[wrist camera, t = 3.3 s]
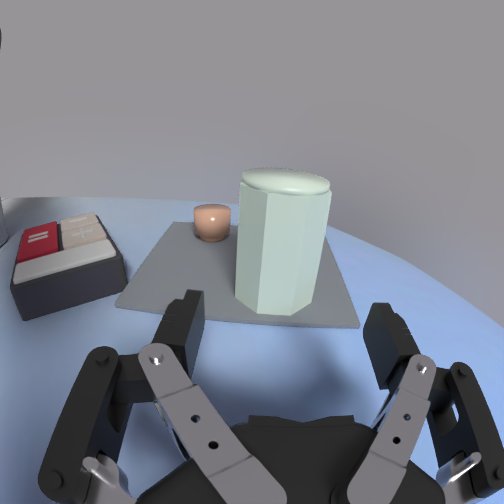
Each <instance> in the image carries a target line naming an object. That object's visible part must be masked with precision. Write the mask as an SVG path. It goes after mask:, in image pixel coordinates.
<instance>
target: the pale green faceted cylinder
mask: <svg viewBox="0 0 504 504" xmlns="http://www.w3.org/2000/svg"><path fill="white" fill-rule="evenodd" d="M329 187H330V182H329V181H328V180H327V179H325V178H323V177H320V176H318V175H315V174H312V173H308V172H303V171H298V170H292V169H282V168H255V169H250V170H246V171H244V172H243V173H242V181H241V184H240V198H239V199H240V200H239V218H238V239H237V260H236V284H235V298H237V299H238V300H239V301H241V302H242V303H243V304H245V305H246V306H247V307H249V308H250V309H251V310H253V311H254V312H255V313H257V314H271V315H287V316H291V315H292V314H294V313H296V312H297V311H299V310H300V309H302V308H304V307H305V306H307V305H308V304H310V303H311V301H312V296H313V292H314V287H315V282H316V278H317V273H318V268H319V263H320V258H321V253H322V247H323V242H324V237H325V231H326V225H327V220H328V214H329V207H330V201H331V195H332V192H331V191H330V190H329Z"/></svg>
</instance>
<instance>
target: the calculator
mask: <svg viewBox="0 0 504 504" xmlns="http://www.w3.org/2000/svg"><path fill="white" fill-rule="evenodd" d="M60 222H61V224H57V222H52V223H48V224H44V225H41V226H37V227H33V228H30V229H26V230H24V233H23V235H22V238H21V241H20V245H19V249H18V253H17V257H16V261H15V265H14V270H13V274H12V279H11V284H10V290H11V292H12V295H13V298H14V300H15V303H16V305H17V308H18V310H19V313H20V315H21V317H22V320H23V321H27V320H31V319H34V318H38V317H41V316H44V315H47V314H51V313H54V312H57V311H61V310H64V309H67V308H71V307H74V306H77V305H81V304H84V303H87V302H90V301H94V300H97V299H100V298H104V297H107V296H110V295H114V294H117V293H120V292H123V290H124V289H125V287H126V286H127V279H126V273H125V268H124V262H123V257H122V255H121V253H120V251H119V250H118V248H117V247H116V245H115V243H114V242H113V240H112V239H111V237H110V235H109V234H108V232H107V231H106V229H105V227H104V226H103V224H102V222H101V221H100V219H99V217H98V216H97V215H95V214H94V213H88V214H84V215H80V216H75V217H71V218H67V219H63V220H61V221H60Z"/></svg>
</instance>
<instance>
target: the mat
mask: <svg viewBox="0 0 504 504" xmlns="http://www.w3.org/2000/svg"><path fill="white" fill-rule="evenodd" d="M237 239H238V226H231V225H230V232H229V233H228V234H227V235H225V238H224V239H223V240H221V241H217V242H207V241H203V240H201V239H200V236H199V235H197V234H196V233H195V232H194V223H186V222H173V223H172V224H171V226H170V227H169V228H168V229H167V231H166V232H165V233H164V235H163V236H162V237H161V239H160V240H159V241H158V243H157V244H156V245H155V247H154V248H153V249H152V251H151V252H150V254H149V255H148V256H147V258H146V259H145V260H144V262H143V263H142V265H141V266H140V267H139V269H138V270H137V272H136V273H135V274H134V276H133V277H132V279H131V280H130V282H129V283H128V284H127V286H126V287H125V289H124V290H123V292H122V293H121V295H120V296H119V298H118V299H117V301H116V302H115V306H116V307H118V308H124V309H131V310H137V311H144V312H151V313H158V314H165V311H166V309H167V306H168V305H169V304H170V303H171V302H172V301H173V300H174V299H183V298H184V296H185V293H186V291H187V289H192V290H201V291H204V306H205V319H207V320H216V321H226V322H238V323H250V324H263V325H278V326H296V327H320V328H359V327H360V322H359V319H358V317H357V314H356V311H355V309H354V306H353V303H352V301H351V298H350V296H349V293H348V290H347V288H346V285H345V283H344V280H343V278H342V275H341V273H340V270H339V268H338V265H337V263H336V261H335V258H334V256H333V253H332V251H331V249H330V246H329V244H328V242H327V239H326V237H324V242H323V247H322V253H321V258H320V263H319V268H318V273H317V278H316V282H315V287H314V292H313V296H312V301H311V303H310V304H308V305H307V306H305V307H304V308H302V309H300V310H299V311H297V312H296V313H294V314H292V315H291V316H287V315H271V314H257V313H255V312H254V311H253V310H251V309H250V308H249V307H247V306H246V305H245V304H243V303H242V302H241V301H239V300H238V299H237V298H235V284H236V260H237Z"/></svg>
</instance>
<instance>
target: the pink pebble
mask: <svg viewBox="0 0 504 504" xmlns="http://www.w3.org/2000/svg"><path fill="white" fill-rule="evenodd" d="M230 213H231V209H230V208H229V207H228V206H225V205H220V204H206V205H200V206H197V207H195V208H194V232H195V233H196V234H197V235H199V236H200V239H201V240H203V241H207V242H217V241H221V240H223V239H224V238H225V235H227V234H228V233H229V232H230Z"/></svg>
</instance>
